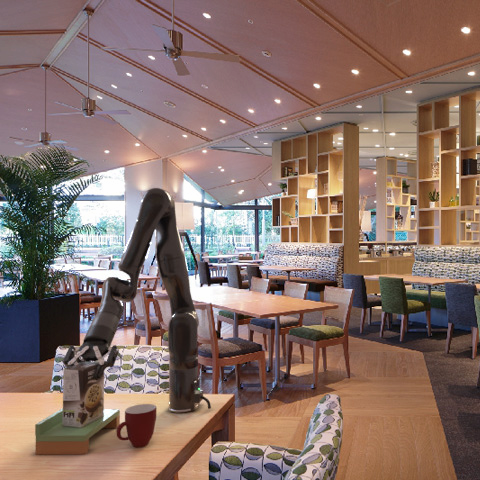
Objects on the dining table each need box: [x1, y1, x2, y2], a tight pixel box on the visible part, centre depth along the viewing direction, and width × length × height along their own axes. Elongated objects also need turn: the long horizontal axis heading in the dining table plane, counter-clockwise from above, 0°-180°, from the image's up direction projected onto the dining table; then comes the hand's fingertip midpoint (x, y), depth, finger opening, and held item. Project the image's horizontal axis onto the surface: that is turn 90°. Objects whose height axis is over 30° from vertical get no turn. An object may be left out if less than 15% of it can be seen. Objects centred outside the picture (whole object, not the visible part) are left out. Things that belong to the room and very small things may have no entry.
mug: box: [115, 403, 157, 448], centre depth 135 cm, size 10×8×10 cm
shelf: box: [34, 407, 121, 455], centre depth 140 cm, size 13×20×8 cm, turn 2°
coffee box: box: [62, 361, 105, 428], centre depth 140 cm, size 9×6×16 cm
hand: (81, 378), depth 138 cm, fingers open, 7 cm apart
